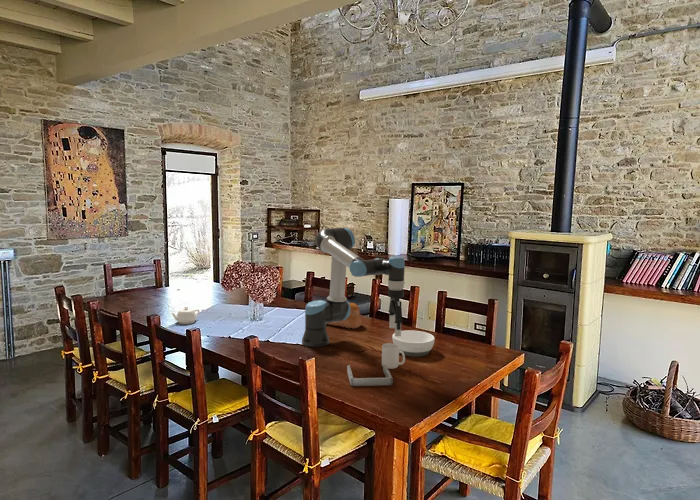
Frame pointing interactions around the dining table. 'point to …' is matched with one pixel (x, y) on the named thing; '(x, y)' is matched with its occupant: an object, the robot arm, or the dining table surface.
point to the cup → (391, 355)
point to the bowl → (414, 343)
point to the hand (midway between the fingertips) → (394, 332)
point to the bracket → (370, 379)
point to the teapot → (186, 316)
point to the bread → (350, 318)
